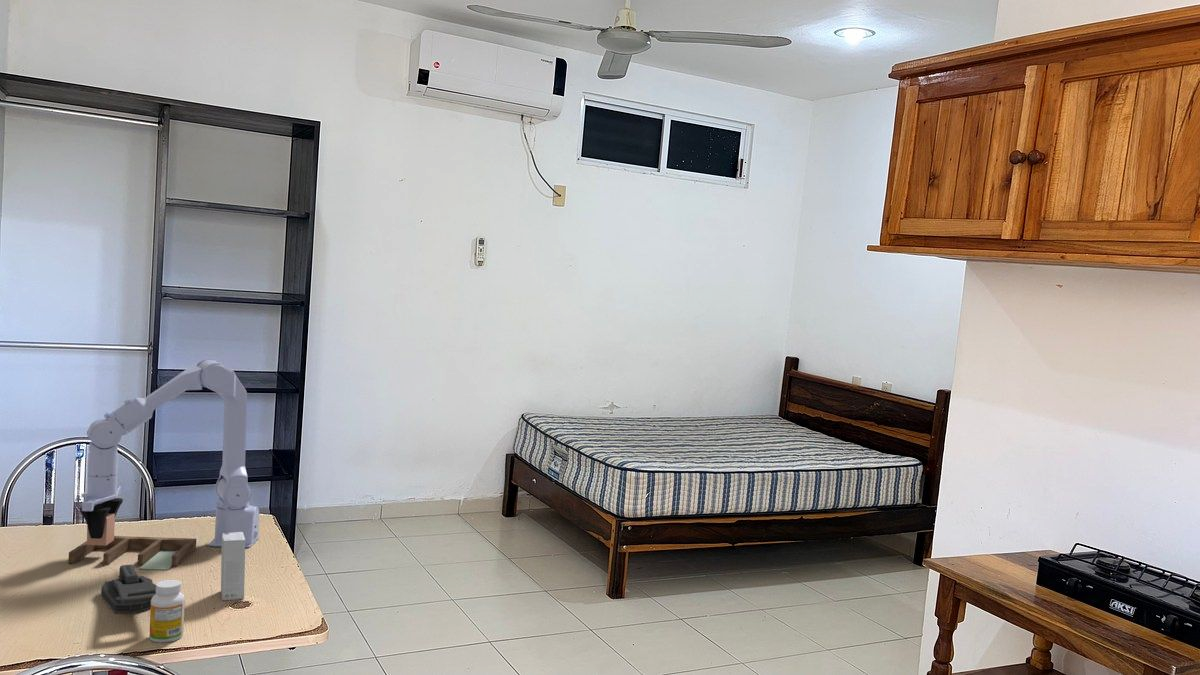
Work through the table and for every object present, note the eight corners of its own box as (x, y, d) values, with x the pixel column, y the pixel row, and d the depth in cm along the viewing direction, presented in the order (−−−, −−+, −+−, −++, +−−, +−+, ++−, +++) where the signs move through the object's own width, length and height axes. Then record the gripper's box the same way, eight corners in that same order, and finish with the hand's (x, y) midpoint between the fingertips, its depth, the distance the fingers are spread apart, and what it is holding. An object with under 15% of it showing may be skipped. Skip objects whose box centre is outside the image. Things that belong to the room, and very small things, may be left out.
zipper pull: (118, 601, 153) (99, 559, 173) (117, 637, 153) (98, 591, 173) (174, 593, 158) (150, 553, 178) (173, 628, 158) (148, 585, 178)
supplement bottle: (157, 630, 157) (159, 577, 156) (188, 631, 157) (190, 578, 157) (143, 642, 152) (146, 588, 151) (176, 643, 152) (178, 589, 152)
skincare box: (244, 599, 174) (247, 539, 173) (220, 601, 172) (223, 541, 171) (242, 588, 180) (245, 530, 179) (218, 590, 178) (221, 532, 177)
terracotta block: (114, 540, 195) (114, 513, 194) (106, 545, 191) (106, 518, 190) (95, 539, 194) (95, 512, 194) (86, 544, 190) (87, 517, 190)
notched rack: (195, 549, 202) (196, 538, 202) (172, 570, 187) (173, 558, 187) (95, 546, 199) (95, 535, 199) (63, 567, 185) (64, 555, 185)
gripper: (98, 466, 198) (96, 524, 199) (67, 481, 184) (65, 544, 185) (131, 467, 199) (129, 525, 200) (102, 482, 185) (100, 545, 186)
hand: (100, 534), depth 192 cm, fingers closed on terracotta block, 4 cm apart
